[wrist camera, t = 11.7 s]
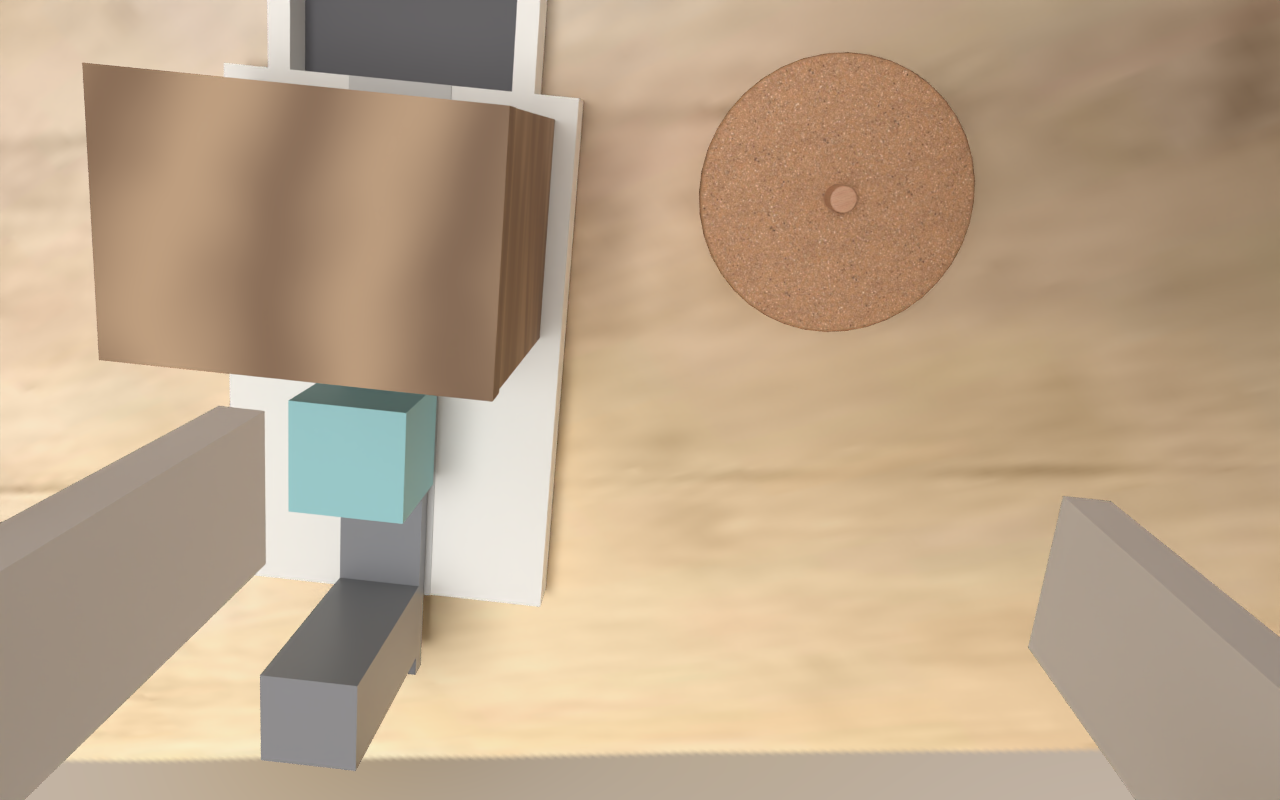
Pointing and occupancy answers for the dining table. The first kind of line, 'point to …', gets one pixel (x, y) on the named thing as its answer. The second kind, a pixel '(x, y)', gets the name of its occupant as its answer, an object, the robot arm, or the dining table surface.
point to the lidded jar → (836, 192)
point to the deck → (530, 398)
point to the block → (360, 452)
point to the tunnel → (315, 231)
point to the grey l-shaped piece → (349, 649)
